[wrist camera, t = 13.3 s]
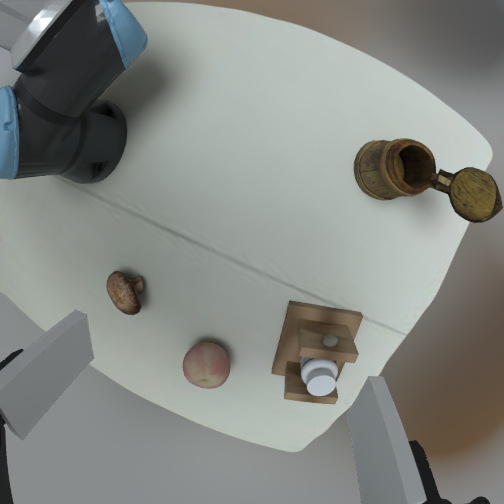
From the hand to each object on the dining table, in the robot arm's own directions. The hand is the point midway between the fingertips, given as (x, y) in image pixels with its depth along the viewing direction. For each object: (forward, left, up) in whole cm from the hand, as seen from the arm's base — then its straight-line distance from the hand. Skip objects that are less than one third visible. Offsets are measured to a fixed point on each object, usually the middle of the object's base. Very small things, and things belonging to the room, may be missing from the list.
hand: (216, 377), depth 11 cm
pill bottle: (+11, -16, -29) cm, 35 cm away
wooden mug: (+17, +13, -30) cm, 37 cm away
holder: (+11, -16, -30) cm, 36 cm away
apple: (-6, -22, -30) cm, 38 cm away
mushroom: (-22, -13, -30) cm, 39 cm away
